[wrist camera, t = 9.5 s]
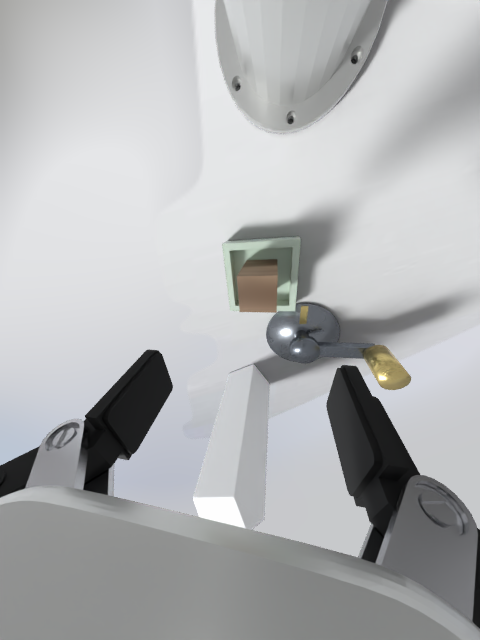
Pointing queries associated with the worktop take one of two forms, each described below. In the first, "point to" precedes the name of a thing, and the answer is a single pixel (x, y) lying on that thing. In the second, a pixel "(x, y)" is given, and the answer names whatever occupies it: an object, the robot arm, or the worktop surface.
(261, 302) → the block
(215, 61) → the worktop surface
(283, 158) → the worktop surface
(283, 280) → the tray
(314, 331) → the crank base
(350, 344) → the crank
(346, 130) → the worktop surface
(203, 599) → the robot arm
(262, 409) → the milk
